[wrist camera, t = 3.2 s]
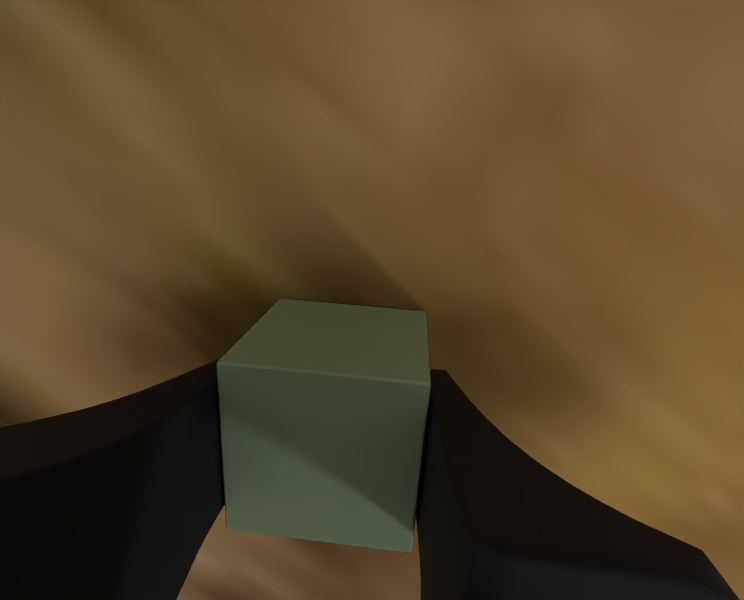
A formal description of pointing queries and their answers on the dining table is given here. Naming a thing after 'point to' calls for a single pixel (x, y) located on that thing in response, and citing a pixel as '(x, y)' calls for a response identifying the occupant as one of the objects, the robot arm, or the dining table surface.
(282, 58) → the dining table surface
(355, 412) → the block
